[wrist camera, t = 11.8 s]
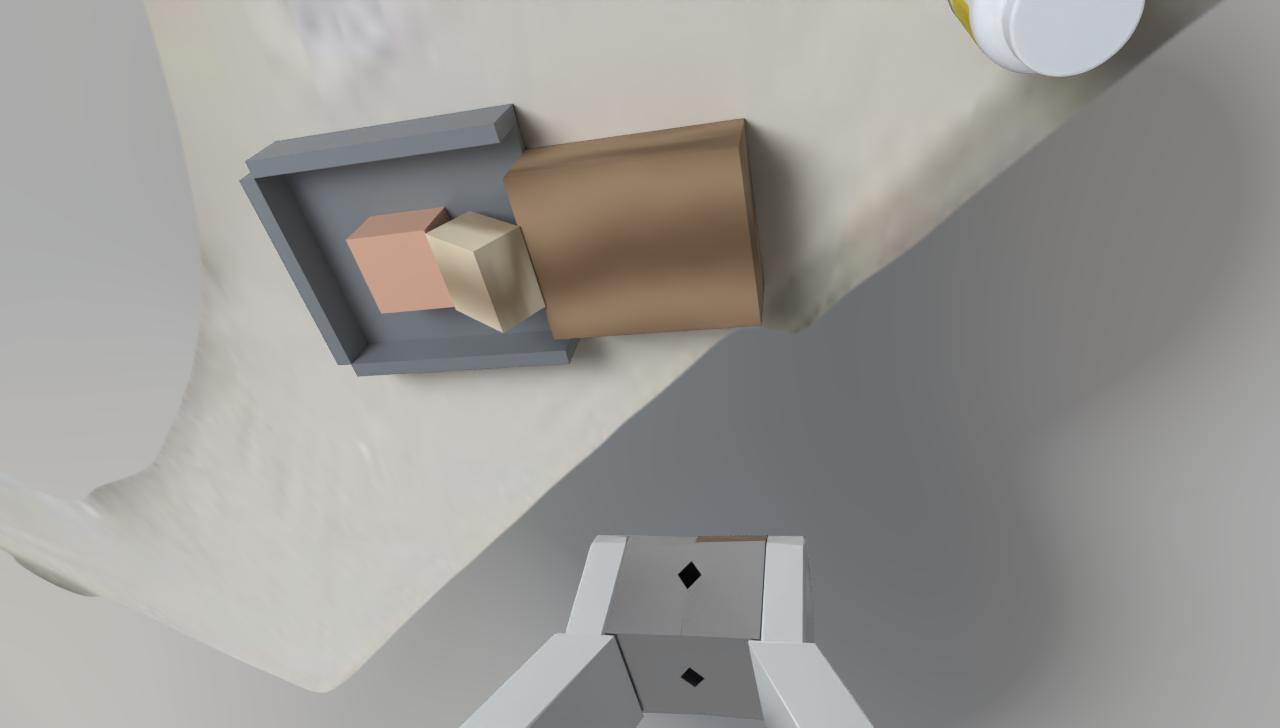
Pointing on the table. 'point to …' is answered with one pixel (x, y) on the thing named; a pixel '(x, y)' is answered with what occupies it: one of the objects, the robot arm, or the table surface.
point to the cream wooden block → (486, 270)
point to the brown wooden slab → (642, 231)
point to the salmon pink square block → (401, 260)
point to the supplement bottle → (1049, 32)
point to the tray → (385, 184)
